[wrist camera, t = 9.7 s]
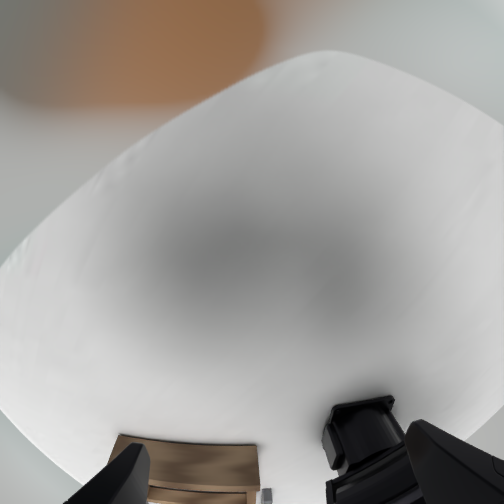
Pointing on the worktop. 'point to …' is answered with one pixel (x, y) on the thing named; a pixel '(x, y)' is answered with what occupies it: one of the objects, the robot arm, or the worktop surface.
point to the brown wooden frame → (198, 472)
